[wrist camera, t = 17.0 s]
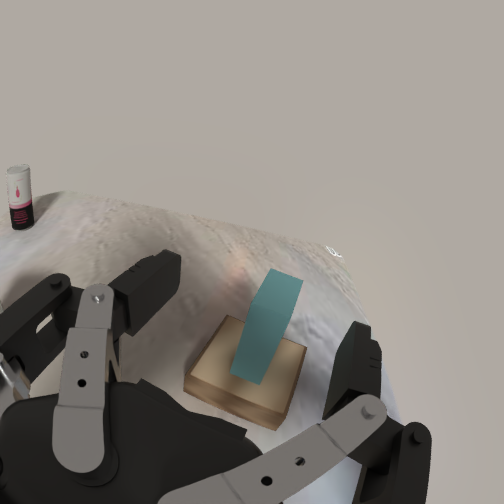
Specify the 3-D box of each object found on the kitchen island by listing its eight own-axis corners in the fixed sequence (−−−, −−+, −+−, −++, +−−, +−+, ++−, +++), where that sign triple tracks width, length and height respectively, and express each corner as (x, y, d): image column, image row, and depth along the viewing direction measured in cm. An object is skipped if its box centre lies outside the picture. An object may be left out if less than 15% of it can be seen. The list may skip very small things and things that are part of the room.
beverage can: (37, 219, 57) (33, 163, 50) (30, 231, 52) (24, 172, 45) (17, 219, 54) (12, 165, 47) (9, 232, 50) (1, 173, 42)
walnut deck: (298, 363, 42) (308, 345, 40) (275, 430, 31) (286, 417, 29) (222, 332, 44) (227, 312, 42) (183, 391, 33) (185, 373, 31)
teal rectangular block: (274, 348, 38) (303, 280, 32) (259, 385, 32) (290, 318, 26) (247, 337, 39) (270, 268, 33) (229, 373, 33) (251, 302, 27)
